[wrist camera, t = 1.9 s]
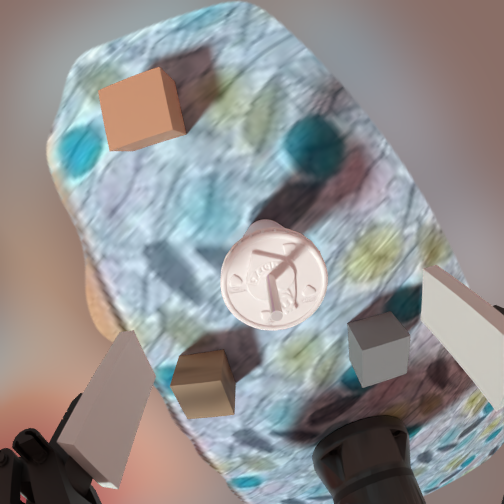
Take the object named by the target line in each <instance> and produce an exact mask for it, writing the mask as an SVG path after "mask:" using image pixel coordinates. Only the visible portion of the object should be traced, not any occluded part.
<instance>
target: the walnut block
mask: <svg viewBox="0 0 504 504" xmlns="http://www.w3.org/2000/svg"><path fill="white" fill-rule="evenodd" d="M170 387H171V389H172V391H173V393H174V395H175V397H176V398H177V400H178V402H179V404H180V406H181V408H182V410H183V411H184V413H185V415H186V417H187V419H195V418H207V417H218V416H227V415H234V412H235V388H236V383H235V380H234V377H233V374H232V371H231V368H230V366H229V363H228V360H227V357H226V354H225V351H224V349H223V350H217V351H210V352H204V353H197V354H190V355H182V356H179V358H178V361H177V365H176V368H175V371H174V374H173V378H172V381H171V384H170Z"/></svg>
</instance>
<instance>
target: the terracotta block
mask: <svg viewBox="0 0 504 504" xmlns="http://www.w3.org/2000/svg"><path fill="white" fill-rule="evenodd" d="M98 92H99V98H100V104H101V110H102V115H103V121H104V126H105V131H106V136H107V140H108V145H109V150H110V151H135V150H138V149H141V148H144V147H147V146H150V145H153V144H157V143H160V142H163V141H166V140H169V139H173V138H176V137H180V136H183V135H187V134H186V130H185V125H184V121H183V116H182V112H181V107H180V103H179V98H178V94H177V89H176V85H175V81H174V80H173V79H172V78H171V77H169V76H168V75H167V74H166V73H165V72H164V71H163V70H162V69H161V68H160V67H157V68H154V69H151V70H148V71H145V72H143V73H140V74H137V75H135V76H132V77H129V78H127V79H124V80H122V81H119V82H117V83H115V84H112V85H110V86H108V87H105V88H103V89H101V90H99V91H98Z"/></svg>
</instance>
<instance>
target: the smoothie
mask: <svg viewBox="0 0 504 504" xmlns="http://www.w3.org/2000/svg"><path fill="white" fill-rule="evenodd" d="M327 284H328V274H327V269H326V265H325V262H324V260H323V258H322V256H321V253H320V251H319V250H318V249H317V248H316V246H315V245H314V244H313V242H312V241H311V240H309V239H308V238H306V237H305V236H304V235H302V234H301V233H298V232H296V231H293V230H290V229H287V228H284V227H283V226H281V225H280V224H278V223H277V222H275V221H273V220H269V219H263V220H258V221H256V222H254V223H253V224H251V225H250V226H249V228H248V229H247V231H246V232H245V234H244V236H243V238H241V239H240V240H239V241H238V242H237V243H235V244H234V245H233V247H232V248H231V249H230V251H229V252H228V254H227V255H226V257H225V260H224V262H223V265H222V268H221V282H220V285H221V293H222V296H223V299H224V302H225V304H226V305H227V307H228V309H229V310H230V311H231V313H232V314H233V315H234V316H235V317H236V318H238V319H239V320H240V321H242V322H243V323H245V324H247V325H249V326H251V327H254V328H257V329H262V330H282V329H287V328H290V327H293V326H296V325H298V324H300V323H301V322H303V321H305V320H306V319H307V318H309V317H310V316H311V315H312V314H313V313H314V312H315V311H316V310H317V308H318V307H319V306H320V304H321V302H322V301H323V299H324V296H325V293H326V290H327Z"/></svg>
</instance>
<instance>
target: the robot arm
mask: <svg viewBox="0 0 504 504" xmlns="http://www.w3.org/2000/svg"><path fill="white" fill-rule="evenodd" d="M421 321H422V322H423V323H424V324H425V326H426V327H427V328H428V329H429V330H430V331H431V332H432V333H433V335H434V336H435V337H436V338H437V339H438V340H439V341H440V343H441V344H442V345H443V346H444V347H445V348H446V349H447V351H448V352H449V353H450V354H451V355H452V356H453V358H454V359H455V360H456V361H457V362H458V364H459V365H460V366H461V367H462V368H463V370H464V371H465V372H466V373H467V375H468V376H469V377H470V378H471V379H472V381H473V382H474V383H475V384H476V386H477V387H478V388H479V390H480V391H481V392H482V393H483V395H484V396H485V397H486V399H487V400H488V401H489V402H490V404H491V405H492V406H493V408H494V409H495V410H496V412H497V411H498V410H500V409H501V408H503V407H504V308H501V307H499V306H497V305H494V306H491V305H490V304H489V303H488V302H486V301H485V300H483V299H482V298H481V297H480V296H478V295H477V294H476V293H475V292H473V291H472V290H471V289H469V288H468V287H466V286H465V285H464V284H462V283H461V282H460V281H458V280H457V279H456V278H454V277H453V276H451V275H450V274H449V273H447V272H446V271H444V270H443V269H441V268H440V267H439V266H437V265H434V266H431V267H427V268H424V269H423V290H422V310H421ZM155 377H156V375H155V373H154V372H153V370H152V368H151V366H150V364H149V362H148V360H147V358H146V356H145V354H144V351H143V349H142V347H141V345H140V343H139V341H138V339H137V337H136V334H135V332H134V330H133V331H125V332H120V333H119V334H118V336H117V337H116V339H115V341H114V342H113V344H112V345H111V347H110V349H109V351H108V352H107V354H106V355H105V357H104V359H103V360H102V362H101V363H100V365H99V367H98V368H97V370H96V372H95V374H94V375H93V377H92V379H91V380H90V382H89V384H88V385H87V387H86V389H85V391H84V392H83V393H80V394H79V395H78V396H77V397H76V398H75V399H74V400H73V401H72V402H71V404H70V406H69V408H68V410H67V412H66V413H65V415H64V416H63V419H62V420H61V422H60V424H59V426H58V427H57V429H56V431H55V433H54V435H53V436H52V438H51V440H50V442H49V443H48V442H47V441H46V440H45V439H44V437H43V436H42V435H41V434H40V433H39V432H38V431H37V430H36V429H33V428H29V429H25V430H23V431H22V432H20V433H19V434H18V435H17V436H16V437H15V439H14V441H13V446H12V447H13V449H14V450H15V451H16V452H17V453H18V454H19V455H20V456H21V457H18V456H17V455H16V454H15V453H14V452H13V451H12V450H10V449H8V448H4V449H1V450H0V504H25V503H23V502H22V501H21V500H20V494H21V495H22V496H24V497H25V498H26V504H102V503H101V501H100V499H99V497H98V495H97V493H96V490H95V489H94V488H93V486H92V485H91V482H92V479H94V480H95V481H96V482H97V483H98V484H99V485H101V486H102V487H108V488H114V489H119V486H120V483H121V480H122V476H123V473H124V470H125V466H126V463H127V460H128V457H129V454H130V451H131V447H132V444H133V441H134V438H135V435H136V432H137V429H138V426H139V423H140V420H141V417H142V414H143V411H144V408H145V406H146V403H147V399H148V397H149V394H150V391H151V388H152V386H153V383H154V380H155ZM312 459H313V464H314V469H315V471H316V473H317V475H318V476H319V478H320V479H321V481H322V482H323V484H324V485H325V486H326V488H327V489H328V491H329V492H330V494H331V495H332V497H333V501H334V504H426V502H425V500H424V498H423V495H422V492H421V490H420V488H419V485H418V483H417V481H416V478H415V476H414V474H413V472H412V469H411V466H410V444H409V434H408V431H407V429H406V427H405V425H404V423H403V422H402V421H401V420H400V419H398V418H396V417H392V416H377V417H371V418H366V419H363V420H359V421H356V422H354V423H351V424H349V425H346V426H344V427H342V428H340V429H338V430H336V431H335V432H333V433H331V434H330V435H329V436H327V437H326V438H325V439H323V440H322V441H321V442H320V443H319V444H318V445H317V447H316V448H315V450H314V452H313V455H312ZM502 504H504V497H503V500H502Z"/></svg>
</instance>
